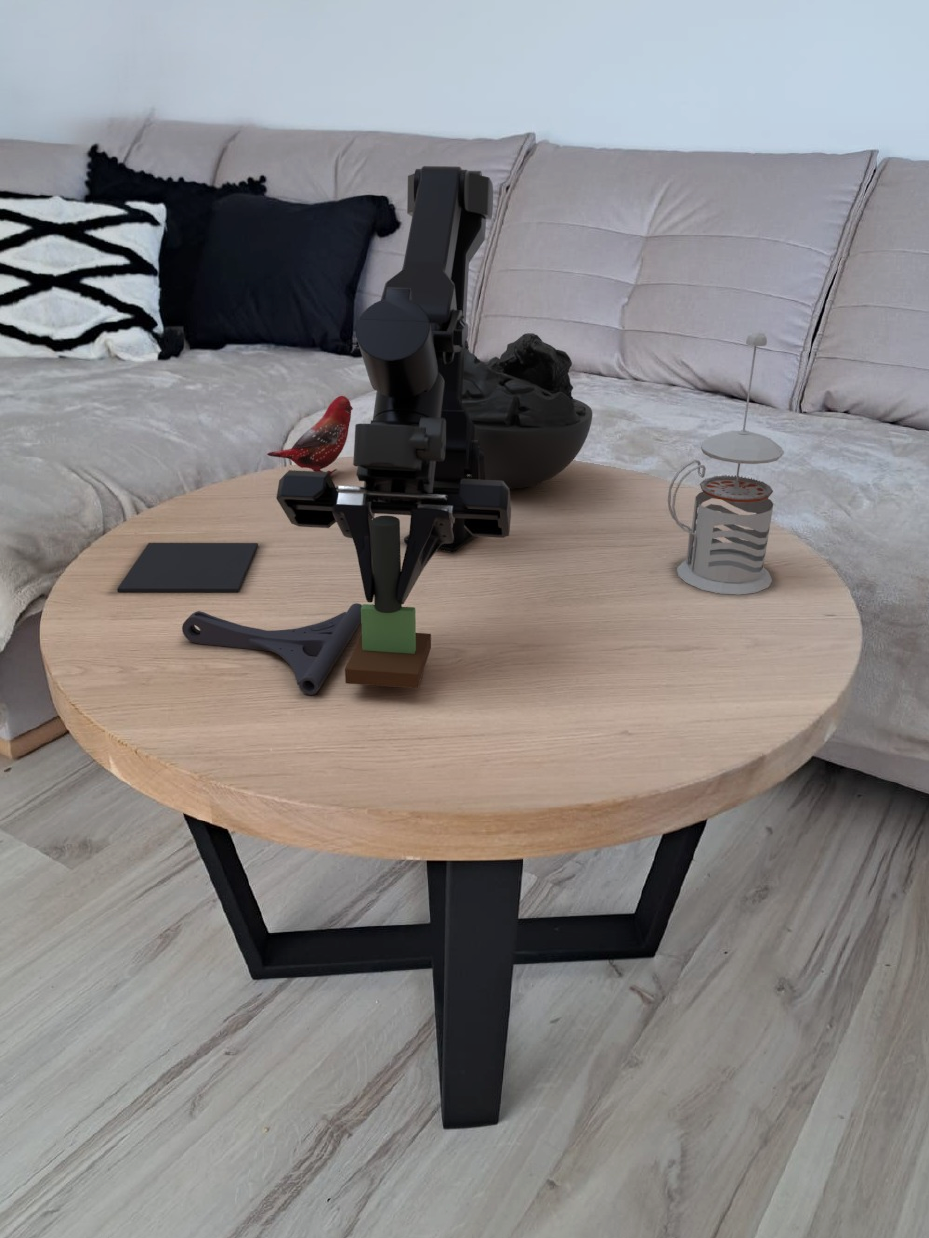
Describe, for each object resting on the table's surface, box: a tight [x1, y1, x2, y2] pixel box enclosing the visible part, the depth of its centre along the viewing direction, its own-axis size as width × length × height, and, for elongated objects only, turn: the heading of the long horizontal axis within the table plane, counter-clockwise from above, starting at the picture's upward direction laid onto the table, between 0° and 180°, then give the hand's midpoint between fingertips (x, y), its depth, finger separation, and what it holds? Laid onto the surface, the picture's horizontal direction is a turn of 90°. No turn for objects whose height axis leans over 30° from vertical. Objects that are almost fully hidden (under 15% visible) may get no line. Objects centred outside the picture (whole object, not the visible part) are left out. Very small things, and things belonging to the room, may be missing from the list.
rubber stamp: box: [344, 515, 432, 689], centre depth 81 cm, size 7×6×13 cm
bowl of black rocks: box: [462, 332, 594, 489], centre depth 126 cm, size 20×20×19 cm
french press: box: [667, 331, 785, 596], centre depth 99 cm, size 10×12×25 cm
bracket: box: [181, 602, 363, 696], centre depth 89 cm, size 14×15×3 cm
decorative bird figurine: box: [266, 395, 354, 476], centre depth 127 cm, size 3×18×10 cm, turn 150°
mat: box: [116, 542, 259, 593], centre depth 105 cm, size 12×12×1 cm
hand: (384, 601), depth 79 cm, fingers closed on rubber stamp, 2 cm apart
